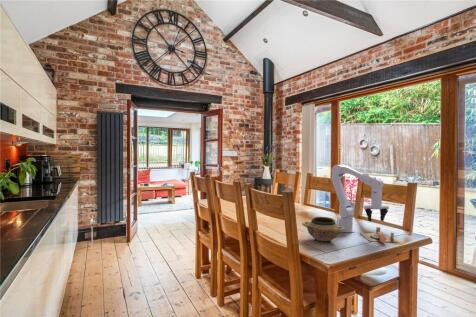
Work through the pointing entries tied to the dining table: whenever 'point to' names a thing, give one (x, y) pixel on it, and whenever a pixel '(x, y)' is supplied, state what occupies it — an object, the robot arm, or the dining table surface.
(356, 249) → the dining table surface
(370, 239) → the board
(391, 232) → the dowel pin
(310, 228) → the ceramic bowl
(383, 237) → the pink irregular piece
